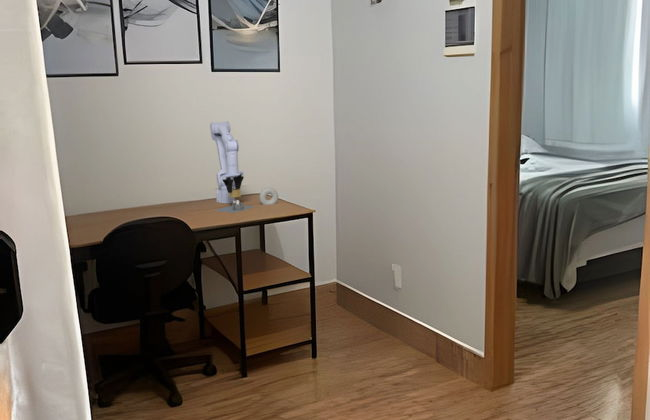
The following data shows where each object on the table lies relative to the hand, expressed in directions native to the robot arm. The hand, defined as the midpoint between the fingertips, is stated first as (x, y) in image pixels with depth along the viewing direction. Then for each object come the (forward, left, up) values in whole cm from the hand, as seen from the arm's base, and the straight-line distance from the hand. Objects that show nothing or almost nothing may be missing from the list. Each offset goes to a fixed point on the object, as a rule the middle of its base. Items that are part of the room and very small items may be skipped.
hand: (233, 191), depth 317 cm
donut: (+11, +14, -10) cm, 20 cm away
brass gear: (+1, 0, -2) cm, 2 cm away
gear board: (+3, -3, -9) cm, 10 cm away
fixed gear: (+6, -4, -8) cm, 10 cm away
